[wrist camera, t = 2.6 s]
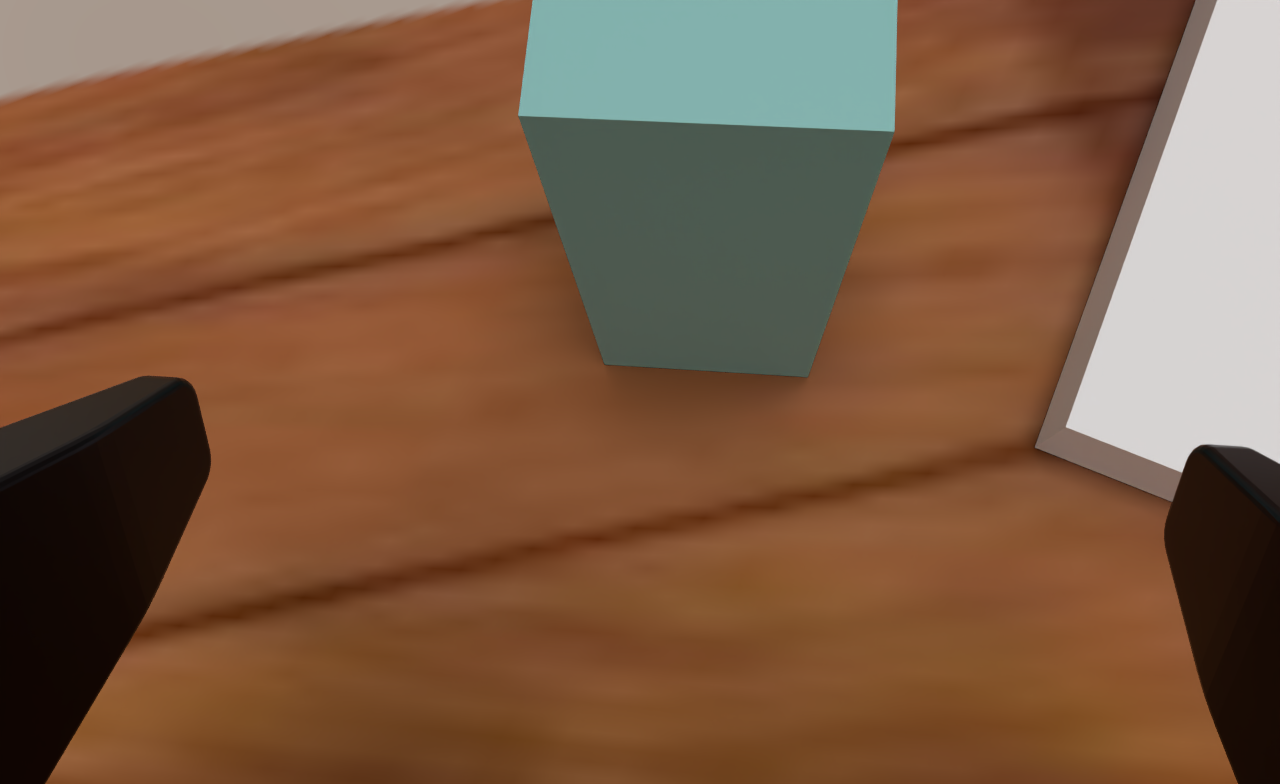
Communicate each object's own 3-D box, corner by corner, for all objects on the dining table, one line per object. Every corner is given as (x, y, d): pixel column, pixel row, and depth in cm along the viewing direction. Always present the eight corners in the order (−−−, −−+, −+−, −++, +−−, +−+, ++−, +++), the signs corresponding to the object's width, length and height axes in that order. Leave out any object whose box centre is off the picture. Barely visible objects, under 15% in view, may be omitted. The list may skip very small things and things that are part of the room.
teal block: (807, 377, 23) (894, 132, 12) (604, 364, 23) (518, 115, 13) (815, 189, 24) (902, -184, 13) (622, 180, 24) (556, -189, 14)
